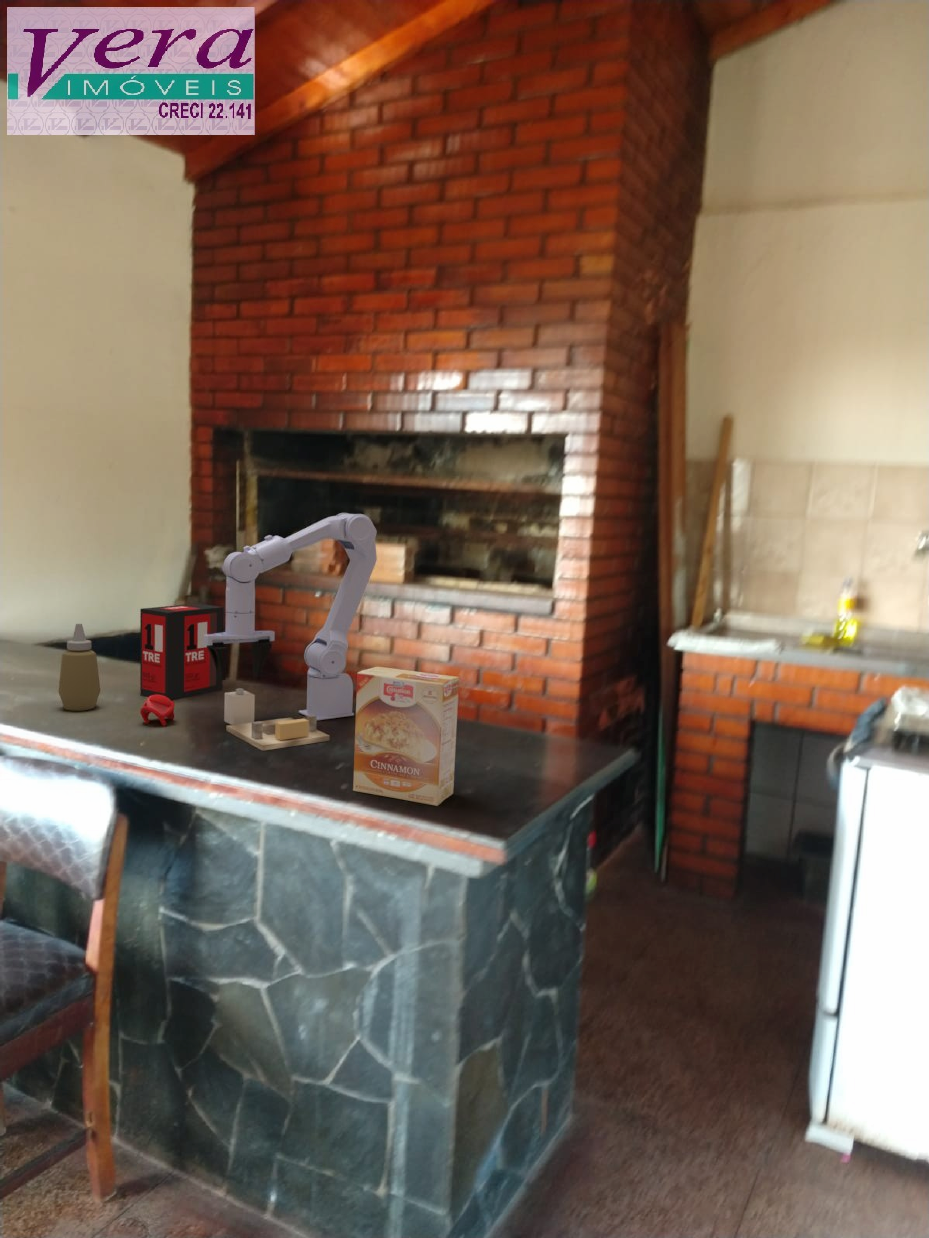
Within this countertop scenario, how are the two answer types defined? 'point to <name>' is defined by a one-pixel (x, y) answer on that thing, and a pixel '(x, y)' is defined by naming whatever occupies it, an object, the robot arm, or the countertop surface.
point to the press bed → (264, 734)
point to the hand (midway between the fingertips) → (239, 677)
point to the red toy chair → (158, 708)
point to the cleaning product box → (178, 650)
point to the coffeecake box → (405, 734)
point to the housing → (239, 707)
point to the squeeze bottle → (79, 674)
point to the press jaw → (291, 729)
